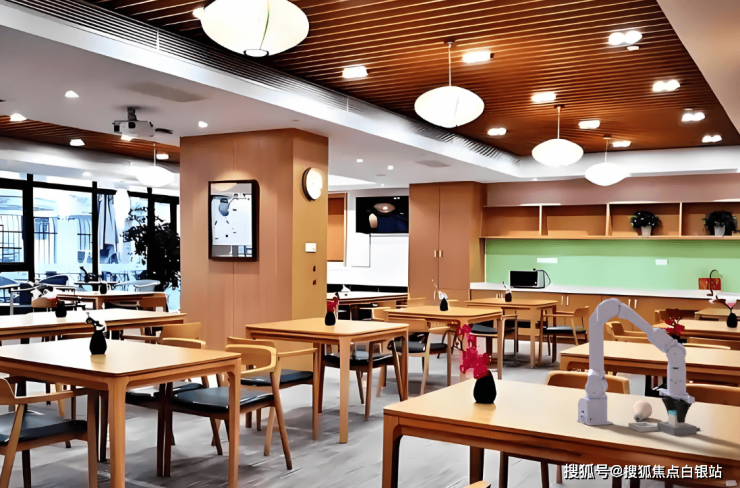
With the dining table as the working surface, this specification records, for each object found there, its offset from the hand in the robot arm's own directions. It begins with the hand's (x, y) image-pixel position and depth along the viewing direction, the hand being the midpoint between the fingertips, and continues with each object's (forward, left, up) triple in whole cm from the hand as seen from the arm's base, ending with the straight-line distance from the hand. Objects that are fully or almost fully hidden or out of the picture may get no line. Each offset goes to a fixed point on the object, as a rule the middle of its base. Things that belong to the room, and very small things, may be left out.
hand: (676, 420), depth 229 cm
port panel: (+2, 0, -4) cm, 4 cm away
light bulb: (0, +19, -4) cm, 19 cm away
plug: (0, 0, -4) cm, 4 cm away
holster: (-8, +6, -4) cm, 11 cm away
